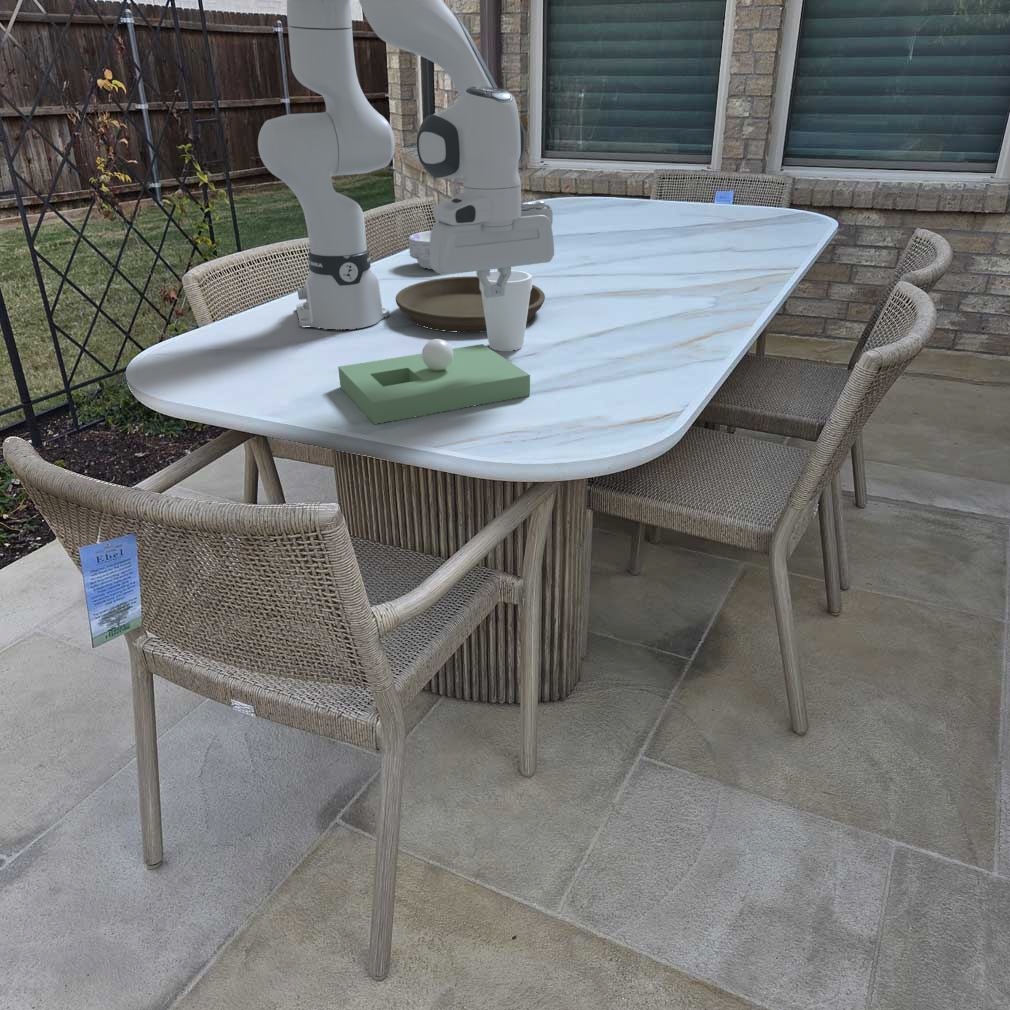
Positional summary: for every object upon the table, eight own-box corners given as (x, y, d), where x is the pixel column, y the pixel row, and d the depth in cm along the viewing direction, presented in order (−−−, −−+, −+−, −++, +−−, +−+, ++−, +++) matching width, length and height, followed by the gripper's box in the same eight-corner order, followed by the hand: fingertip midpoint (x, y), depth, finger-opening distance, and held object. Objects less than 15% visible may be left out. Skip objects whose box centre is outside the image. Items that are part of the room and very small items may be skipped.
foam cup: (530, 338, 164) (530, 269, 158) (533, 353, 156) (533, 281, 150) (480, 339, 164) (479, 270, 158) (481, 354, 156) (479, 282, 150)
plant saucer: (530, 341, 163) (530, 317, 161) (376, 332, 169) (374, 309, 167) (554, 299, 190) (555, 278, 188) (421, 293, 196) (420, 273, 193)
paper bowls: (402, 263, 222) (400, 232, 218) (456, 257, 227) (455, 227, 224) (422, 276, 210) (420, 243, 206) (479, 269, 215) (478, 237, 211)
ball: (418, 367, 139) (416, 337, 137) (446, 363, 141) (445, 333, 138) (429, 376, 135) (427, 346, 133) (458, 372, 137) (457, 341, 135)
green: (340, 386, 141) (338, 366, 140) (482, 363, 151) (482, 344, 150) (374, 424, 127) (372, 402, 125) (529, 395, 137) (530, 374, 135)
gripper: (542, 197, 137) (542, 284, 143) (423, 208, 129) (428, 300, 135) (562, 202, 131) (560, 292, 138) (438, 214, 124) (443, 308, 130)
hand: (494, 296), depth 136 cm, fingers closed
